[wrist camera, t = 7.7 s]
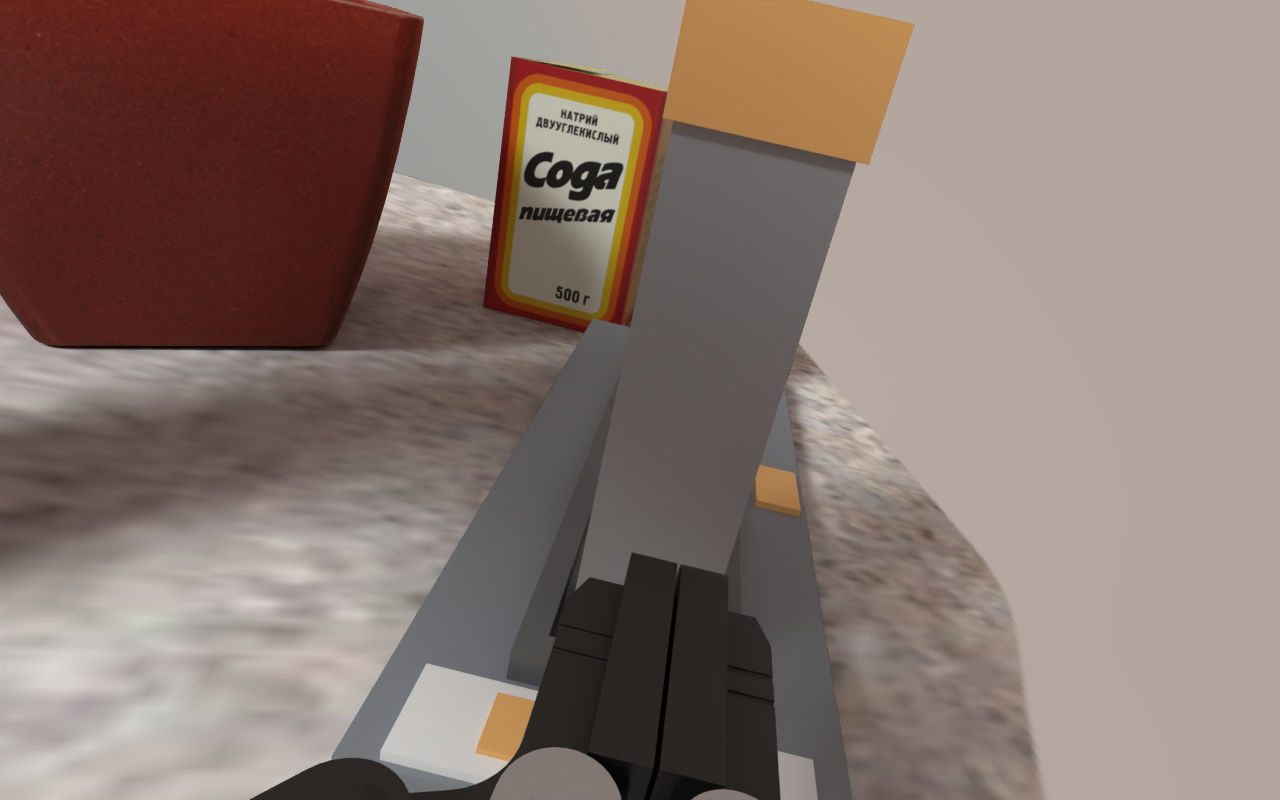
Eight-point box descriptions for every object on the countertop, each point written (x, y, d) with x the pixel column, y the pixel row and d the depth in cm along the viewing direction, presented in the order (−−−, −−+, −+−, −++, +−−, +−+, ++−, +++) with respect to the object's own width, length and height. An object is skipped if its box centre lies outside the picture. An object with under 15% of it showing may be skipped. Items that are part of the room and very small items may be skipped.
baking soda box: (634, 313, 54) (681, 85, 47) (617, 340, 48) (669, 85, 41) (514, 283, 54) (544, 54, 48) (483, 306, 48) (512, 49, 42)
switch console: (330, 814, 16) (332, 724, 15) (587, 347, 46) (595, 303, 44) (837, 944, 16) (883, 863, 15) (771, 391, 45) (784, 347, 44)
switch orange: (553, 657, 19) (691, -26, 13) (578, 578, 23) (700, -4, 16) (695, 692, 19) (914, 24, 12) (701, 608, 22) (879, 35, 16)
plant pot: (-103, 383, 28) (-242, -135, 21) (20, 240, 43) (-37, -90, 36) (405, 378, 37) (430, 15, 30) (360, 262, 52) (370, 1, 45)
